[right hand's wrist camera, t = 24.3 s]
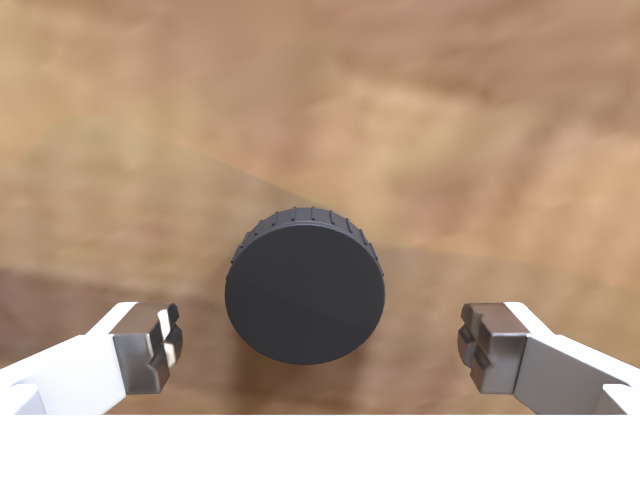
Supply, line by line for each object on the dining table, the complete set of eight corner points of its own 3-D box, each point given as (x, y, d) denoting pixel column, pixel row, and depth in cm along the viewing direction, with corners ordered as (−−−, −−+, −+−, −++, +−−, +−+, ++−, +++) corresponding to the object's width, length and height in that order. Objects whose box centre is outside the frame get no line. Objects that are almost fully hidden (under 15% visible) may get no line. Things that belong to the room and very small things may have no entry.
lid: (208, 293, 15) (193, 321, 13) (283, 175, 14) (278, 188, 12) (324, 355, 16) (326, 389, 15) (406, 255, 15) (421, 278, 13)
